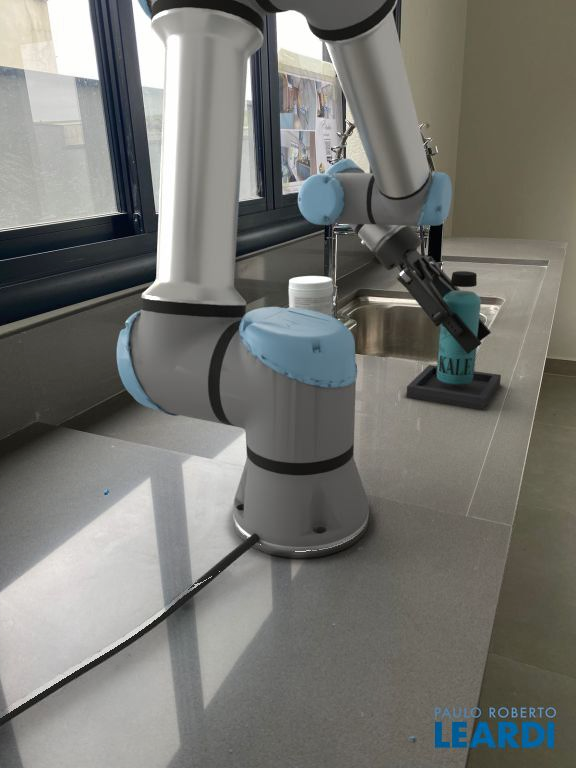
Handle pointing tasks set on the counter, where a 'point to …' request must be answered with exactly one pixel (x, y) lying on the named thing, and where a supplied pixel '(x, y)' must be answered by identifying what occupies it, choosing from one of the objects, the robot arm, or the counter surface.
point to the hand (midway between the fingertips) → (479, 342)
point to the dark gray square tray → (454, 389)
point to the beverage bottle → (451, 355)
